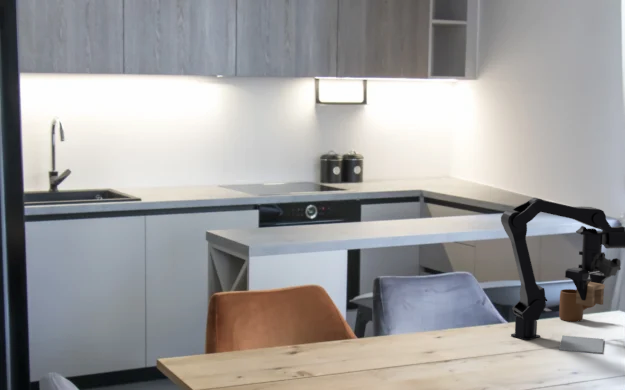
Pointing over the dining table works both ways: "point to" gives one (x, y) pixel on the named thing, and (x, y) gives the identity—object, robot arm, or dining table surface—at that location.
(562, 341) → the mat
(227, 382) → the dining table surface
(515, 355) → the dining table surface
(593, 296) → the stool
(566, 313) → the mug
